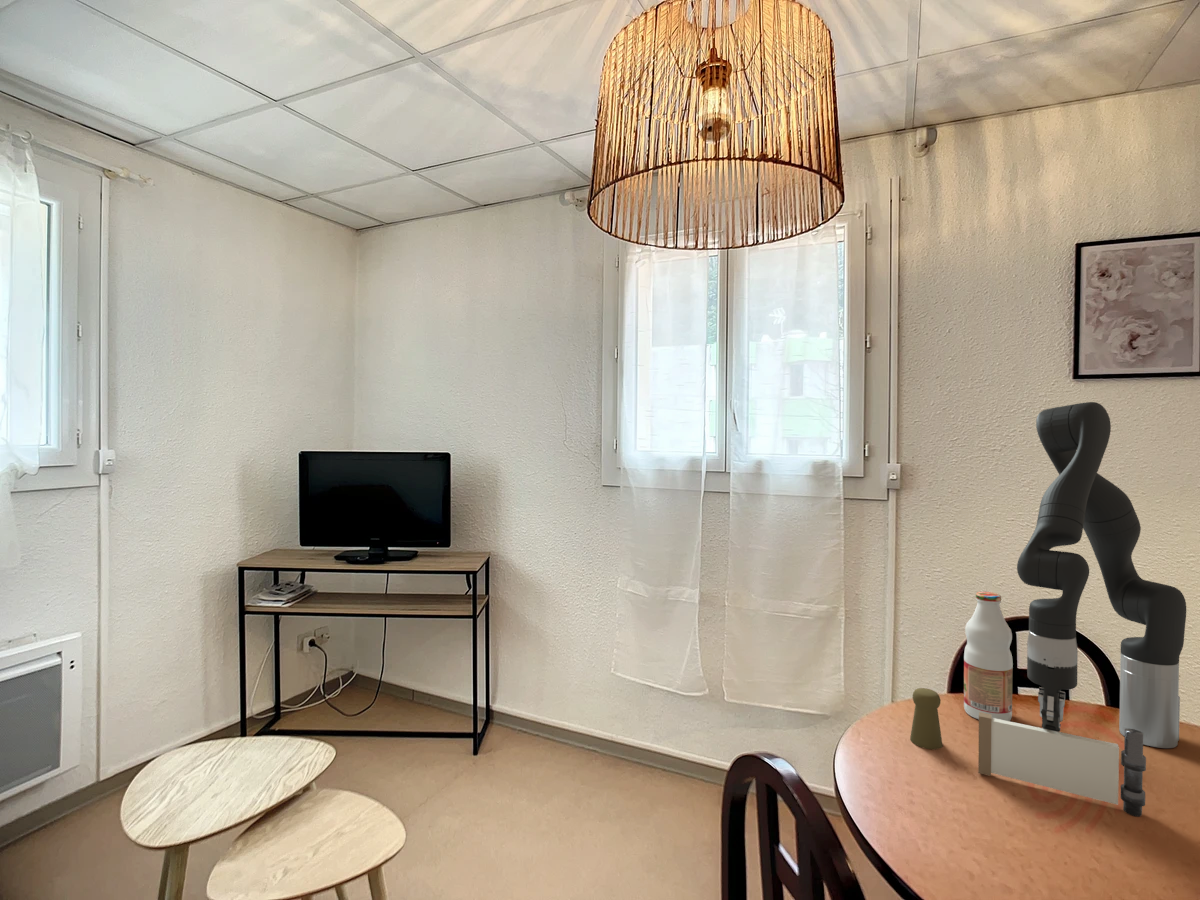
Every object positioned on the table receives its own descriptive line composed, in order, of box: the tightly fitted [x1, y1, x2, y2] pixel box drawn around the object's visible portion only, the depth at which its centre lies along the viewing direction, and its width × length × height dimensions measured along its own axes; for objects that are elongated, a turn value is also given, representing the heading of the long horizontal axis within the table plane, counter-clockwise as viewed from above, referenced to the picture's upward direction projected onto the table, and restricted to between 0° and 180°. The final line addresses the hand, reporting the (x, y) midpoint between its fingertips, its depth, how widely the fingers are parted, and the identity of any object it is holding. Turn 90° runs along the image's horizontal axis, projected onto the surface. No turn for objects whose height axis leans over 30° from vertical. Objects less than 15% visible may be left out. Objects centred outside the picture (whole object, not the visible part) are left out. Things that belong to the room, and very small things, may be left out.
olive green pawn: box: [909, 687, 943, 750], centre depth 130 cm, size 6×6×11 cm
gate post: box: [1120, 729, 1147, 818], centre depth 105 cm, size 3×3×14 cm
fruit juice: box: [963, 591, 1014, 722], centre depth 141 cm, size 9×9×28 cm
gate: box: [977, 712, 1120, 806], centre depth 112 cm, size 20×2×11 cm, turn 56°
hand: (1051, 748), depth 115 cm, fingers closed
